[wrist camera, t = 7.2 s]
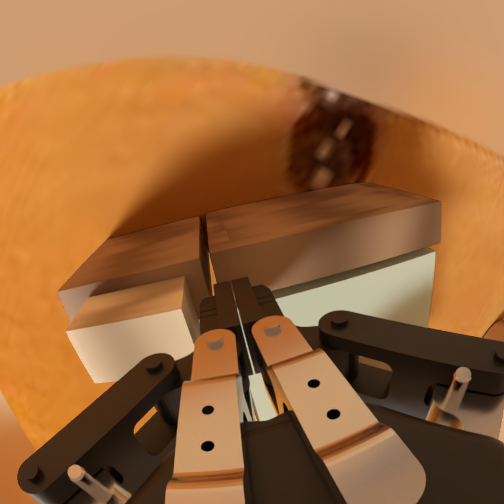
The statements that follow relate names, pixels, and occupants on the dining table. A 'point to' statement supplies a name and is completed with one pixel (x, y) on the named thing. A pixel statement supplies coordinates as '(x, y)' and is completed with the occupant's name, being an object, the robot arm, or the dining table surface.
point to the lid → (357, 302)
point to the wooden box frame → (264, 243)
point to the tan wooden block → (134, 327)
